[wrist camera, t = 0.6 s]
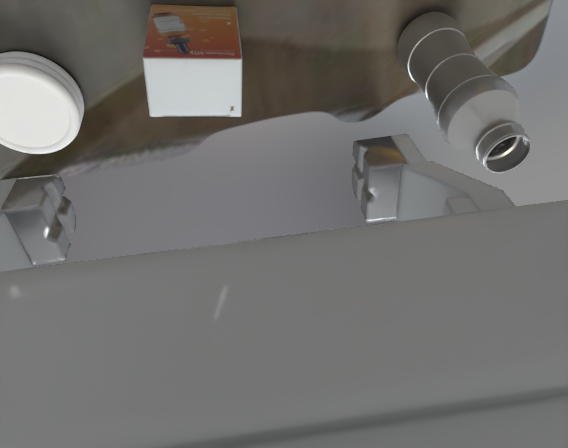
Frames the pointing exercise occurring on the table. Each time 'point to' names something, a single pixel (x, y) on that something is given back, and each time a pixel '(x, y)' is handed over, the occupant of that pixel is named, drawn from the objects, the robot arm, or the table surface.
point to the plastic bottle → (464, 92)
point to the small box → (193, 61)
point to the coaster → (37, 104)
